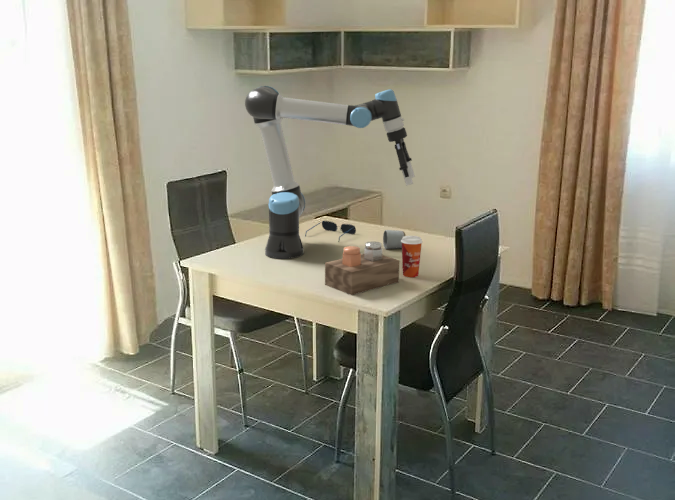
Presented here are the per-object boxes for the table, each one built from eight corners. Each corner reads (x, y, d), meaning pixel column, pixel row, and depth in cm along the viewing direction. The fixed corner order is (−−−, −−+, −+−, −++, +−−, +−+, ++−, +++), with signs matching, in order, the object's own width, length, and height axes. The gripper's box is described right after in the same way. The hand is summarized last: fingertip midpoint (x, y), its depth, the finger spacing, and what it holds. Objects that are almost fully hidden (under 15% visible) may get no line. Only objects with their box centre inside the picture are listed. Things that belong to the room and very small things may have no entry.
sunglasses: (356, 235, 334) (356, 225, 332) (339, 247, 322) (338, 236, 320) (322, 230, 342) (322, 219, 340) (304, 241, 331) (303, 230, 329)
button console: (325, 284, 268) (325, 262, 265) (371, 272, 281) (372, 251, 279) (351, 295, 257) (351, 272, 255) (398, 282, 271) (399, 260, 269)
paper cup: (406, 279, 274) (407, 241, 270) (396, 273, 281) (397, 236, 277) (425, 277, 277) (426, 239, 273) (415, 271, 284) (416, 234, 280)
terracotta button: (340, 269, 265) (340, 248, 263) (352, 266, 268) (352, 245, 266) (350, 273, 261) (351, 251, 259) (363, 270, 264) (363, 248, 262)
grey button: (361, 264, 271) (362, 243, 269) (373, 261, 275) (373, 240, 273) (372, 267, 267) (372, 246, 265) (384, 264, 271) (384, 243, 268)
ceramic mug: (406, 250, 311) (407, 231, 309) (386, 251, 309) (387, 232, 307) (399, 243, 321) (399, 225, 319) (380, 244, 319) (380, 226, 317)
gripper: (402, 131, 288) (418, 184, 293) (406, 122, 311) (421, 172, 316) (383, 137, 289) (399, 190, 294) (388, 128, 313) (403, 177, 318)
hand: (410, 181), depth 305 cm, fingers open, 13 cm apart
